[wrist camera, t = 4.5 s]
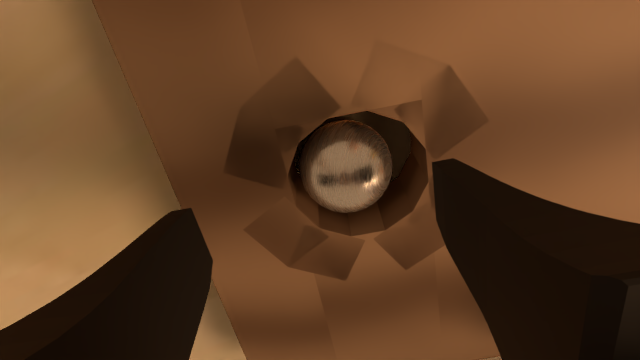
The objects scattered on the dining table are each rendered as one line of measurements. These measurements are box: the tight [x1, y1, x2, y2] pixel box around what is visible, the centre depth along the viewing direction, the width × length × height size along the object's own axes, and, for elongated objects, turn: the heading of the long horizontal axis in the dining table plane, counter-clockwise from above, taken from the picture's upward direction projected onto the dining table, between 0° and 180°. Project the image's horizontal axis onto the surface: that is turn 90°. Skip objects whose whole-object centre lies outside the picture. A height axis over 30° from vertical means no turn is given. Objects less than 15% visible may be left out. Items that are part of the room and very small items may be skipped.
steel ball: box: [299, 120, 392, 213], centre depth 14 cm, size 3×3×3 cm
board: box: [92, 0, 640, 360], centre depth 14 cm, size 20×20×2 cm
